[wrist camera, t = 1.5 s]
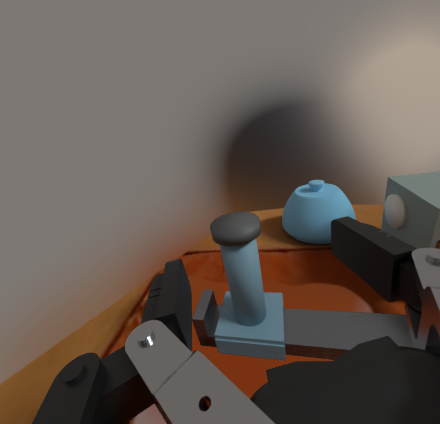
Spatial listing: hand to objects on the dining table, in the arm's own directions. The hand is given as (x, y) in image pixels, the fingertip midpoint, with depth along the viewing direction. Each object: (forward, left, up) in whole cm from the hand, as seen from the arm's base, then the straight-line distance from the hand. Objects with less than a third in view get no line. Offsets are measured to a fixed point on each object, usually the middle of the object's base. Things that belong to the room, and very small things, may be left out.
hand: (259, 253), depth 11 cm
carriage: (-4, +10, -20) cm, 23 cm away
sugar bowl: (+8, +37, -21) cm, 43 cm away
